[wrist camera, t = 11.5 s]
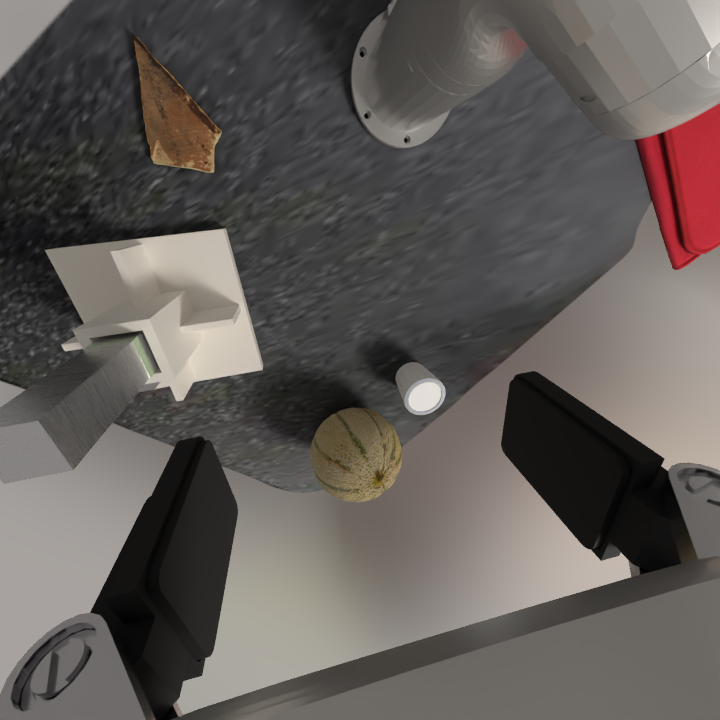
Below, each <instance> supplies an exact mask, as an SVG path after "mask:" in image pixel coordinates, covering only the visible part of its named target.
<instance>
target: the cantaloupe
mask: <svg viewBox="0 0 720 720" xmlns="http://www.w3.org/2000/svg"><path fill="white" fill-rule="evenodd" d="M310 454H311V458H310V460H311V464H312V468H313V470H314V473H315V477H316V478H317V480H318V482H319V484H320V485H321V486H322V487H323V488H324V489H325V490H326V491H327V492H328V493H330V494H331V495H332V496H334V497H336V498H339V499H341V500H345V501H351V502H352V501H353V502H363V501H368V500H371V499H374V498H376V497H378V496H379V495H381V494H382V493H383V492H385V491H386V490H387V489H388V488H390V486H391V485H392V484H393V483H394V481H395V479H396V476H397V474H398V472H399V470H400V467H401V460H402V452H401V446H400V442H399V438H398V435H397V433H396V431H395V429H394V427H393V426H392V425H391V424H390V423H389V422H388V421H387V420H386V419H385V418H383V417H382V416H381V415H380V414H378V413H377V412H375V411H373V410H370V409H366V408H353V407H352V408H347V409H343V410H340V411H339V412H337V413H335V414H332V415H331V416H330V417H328V418H327V419H326V420H324V421H323V422H322V423H321V425H320V427H319V428H318V429H317V431H316V434H315V436H314V438H313V441H312V445H311V451H310Z"/></svg>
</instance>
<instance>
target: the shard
mask: <svg viewBox="0 0 720 720" xmlns="http://www.w3.org/2000/svg"><path fill="white" fill-rule="evenodd" d="M133 37H134V44H135V51H136V59H137V63H138V67H139V74H140V84H141V100H142V106H143V117H144V122H145V130H146V135H147V140H148V143H149V145H150V153H151V158H152V160H153V162H154V164H158V165H168V166H175V167H181V168H190V169H195V170H199V171H204V172H209V173H211V172H212V173H213V172H214V147H215V144H216V143H217V141H218V139H219V138H220V136H221V133H222V131H221V130H220V129H219V128H218V127H216V125H215V124H214V123H213V122H212V121H211V120H210V119H209V117H208V116H207V115H206V114H205V113H204V111H203V110H202V109H201V108H200V107H199V106H198V105H197V104H196V103H195V102H194V101H193V100H192V98H191V97H190V96H189V95H188V94H187V93H186V91H185V90H184V89H183V87H182V86H181V85H180V84H179V83H178V82H177V81H176V80H175V79H174V77H173V76H172V75H171V74H170V73H169V72H168V71H167V70H166V69H165V68H164V67H163V66H162V65H161V64H160V63H159V62H158V61H157V60H156V59H155V58H154V57H153V56H152V55H151V53H150V52H149V51H148V50H147V48H146V46H145V45H144V44H143V43H142V42H141V41H140V40H139V38H138V37H136V36H135V35H134V34H133Z"/></svg>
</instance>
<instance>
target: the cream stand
mask: <svg viewBox="0 0 720 720" xmlns="http://www.w3.org/2000/svg"><path fill="white" fill-rule="evenodd" d="M45 251H46V253H47V255H48V257H49V259H50V261H51V263H52V265H53V266H54V268H55V270H56V272H57V274H58V276H59V278H60V279H61V281H62V283H63V285H64V287H65V289H66V291H67V293H68V294H69V296H70V298H71V300H72V302H73V304H74V306H75V308H76V309H77V311H78V313H79V315H80V317H81V319H82V321H83V322H84V324H83V325H81V326H79V327H78V328H76V329H74V330H73V332H74V334H75V337H73V338H72V339H70V340H68V341H67V342H65V343H63V344H62V345H61V346H62V347H63V349H64V351H70V350H76V349H83V350H84V349H85V348H86V347H87V346H89V345H90V344H91V343H94V342H96V341H97V340H99V339H100V338H102V337H103V336H108V335H115V334H121V333H128V332H134V331H141V330H143V332H144V335H145V337H146V339H147V341H148V344H149V346H150V348H151V350H152V352H153V355H154V357H155V359H156V361H157V364H158V366H159V367H158V368H157V370H156V371H155V373H154V374H153V376H152V377H151V378H149V379H148V380H147V382H146V383H145V384H144V385H143V386H142V388H141V389H140V390H139V391H138V392H141V391H147V390H153V389H156V388H162V387H168V386H170V387H171V390H172V392H173V394H174V396H175V399H176V401H181V400H183V399H184V398H185V396H186V394H187V392H188V391H189V389H190V387H191V385H192V383H193V382H196V381H202V380H208V379H213V378H219V377H225V376H231V375H236V374H242V373H248V372H254V371H259V370H263V363H262V359H261V355H260V352H259V348H258V344H257V341H256V337H255V333H254V330H253V326H252V322H251V319H250V315H249V312H248V308H247V304H246V301H245V297H244V293H243V290H242V286H241V282H240V279H239V275H238V271H237V268H236V264H235V260H234V257H233V253H232V249H231V246H230V242H229V238H228V235H227V231H226V228H224V229H216V230H207V231H199V232H190V233H181V234H173V235H164V236H156V237H147V238H139V239H130V240H122V241H113V242H105V243H96V244H88V245H79V246H71V247H62V248H54V249H48V250H45Z"/></svg>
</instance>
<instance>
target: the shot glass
mask: <svg viewBox="0 0 720 720" xmlns="http://www.w3.org/2000/svg"><path fill="white" fill-rule="evenodd" d="M395 379H396V384H397V386H398V389H399V391H400V394H401V397H402V399H403V402H404V404H405V407H406V408H407V409H408V410H409V412H411V413H413V414H415V415H425V414H428V413H432V412H433V411H434V410H436V409H437V408H439V406H440V405H441V404H442V403H443V401H444V398H445V395H446V394H445V387H444V386H443V384H442V383H441V382H440V381H439V380H438V379H437V378H436V377H435V376H434V375H433V374H431V373H430V372H429V371H428V370H427V369H426V368H425V367H424V366H423V365H421V364H419V363H417V362H410V363H406V364H404V365H403V366H402V367H400V369H399V370H398V371H397V373H396V377H395Z"/></svg>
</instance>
